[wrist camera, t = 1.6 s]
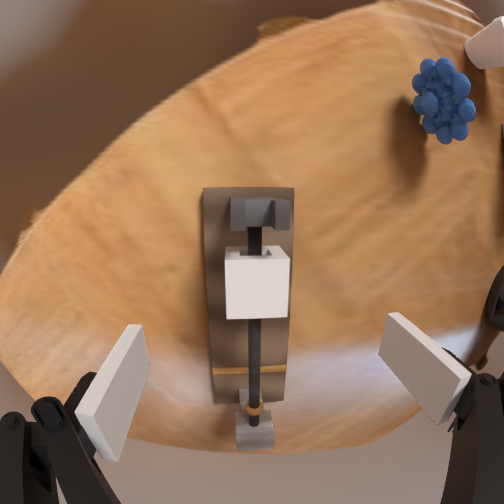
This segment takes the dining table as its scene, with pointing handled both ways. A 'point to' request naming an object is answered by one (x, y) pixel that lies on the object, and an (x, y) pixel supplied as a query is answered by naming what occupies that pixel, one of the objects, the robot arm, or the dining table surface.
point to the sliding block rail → (247, 330)
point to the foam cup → (487, 46)
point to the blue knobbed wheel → (443, 100)
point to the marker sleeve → (256, 283)
